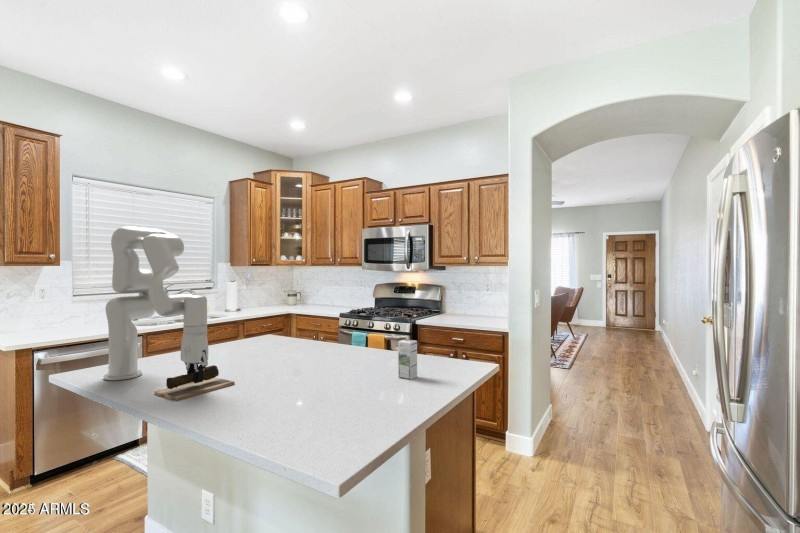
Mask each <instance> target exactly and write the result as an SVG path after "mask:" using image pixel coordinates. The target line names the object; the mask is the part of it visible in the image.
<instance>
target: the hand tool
mask: <svg viewBox="0 0 800 533" xmlns="http://www.w3.org/2000/svg"><path fill="white" fill-rule="evenodd" d="M219 375H220V373H219V369H218V366H217V365H210V366H208V365H207V366H205V368H204V371H203V380H210V379H212V378H214V377H216V378H217V377H218V376H219ZM191 382H194V373H190V374H187V373H186V374H181V375H177V376H174V377H166V384H165V385H166V387H167V388H168V389H173V388H174V387H176V388H177V387H178V386H181V385H184V384H187V383H191Z"/></svg>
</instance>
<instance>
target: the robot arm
mask: <svg viewBox="0 0 800 533" xmlns="http://www.w3.org/2000/svg"><path fill="white" fill-rule="evenodd" d="M110 243H111V244H110V245H111V251H112V256H113V261H112V278H111V284H112V289H113V291H114V292H115V293H117V294H138V295H129V296H127V295H126V296H118V297H114V298H111V299H109V300H108V301H107V302H106V304H105V309H104V310H105V316H106V320H107V325H108V326H107V327H108V366H107V369H108V373H106V374H104V375H103V379H104V380H105V381H122V380H129V379H134V378H137V377H139V376H142V374H143V371H142V370H140V369H138V363H139V362H138V360H139V359H138V351H139V350H138V348H139V347H138V334H139V333H138V329H137V326H136V325H135V324H134V322H133V321H134V320H142V319H148V318H151V317H153V315H154V314H155V312H156V313H157V314H158V315H159V316H161V317H173V316H183V328H182V329H183V331H182V332H183V334H182V338H181V345H180V361H181V362H184V364H185V370H186V371H187V372H186V374H190V373H194V383H199V382H203V371H204V368H205V367H208V365H209V362H208V360H209V342H208V341H209V340H208V298H207V297H206V295H203V294H202V295H197V294H196V295H194V294H192V293H177V294H167V293H166V289H165V288H164V281H165V280H166V279H169V278H171V277H173V276H174V275H176V274H177V273H178V272H179V270H180V267H179V265H178V263H177V260H176V257H179V256H181V255H182V254H183V253H184V251H185V244H184V241H183V240H182V239H181V238H180V237H179V236H178V235H176V234H173V233H170V232H168V231H165V230H162V229H159V228H150V227H148V228H147V227H141V226H140V227H139V226H121V227H119V228H116V230H115V231H114V232H113V233H112V236H111V241H110ZM135 249H136V250H137V249H138V250H143V251H144V254H145V256H146V258H147V261H148V263H149V265H150V268H151V269H143V268H142V269H140V257H139V255H138V254H137V252H136V251H135Z"/></svg>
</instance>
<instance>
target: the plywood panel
mask: <svg viewBox="0 0 800 533" xmlns="http://www.w3.org/2000/svg"><path fill="white" fill-rule="evenodd" d="M233 385H235V381H233V380H229V379H225V378H220V377H217V376H216V377H214V378H212V379H210V380H203V382H199V383H194V382H191V383H187V384H184V385H181V386H178V387H177V388H176V387H174V388H173V389H168V388H163V389H160V390H155V391H154V392H153V394H154V395H155V396H159V397H161V398H164V397H165V399H168V400H171V399H172V400H171V401H174V400H175V402H176V401H177V400H178V401H182V400H184V398H185V399H188V398H192V397H195V396H198V395H202V394H206V393H209V392H214V391H216V390H219V389H222V388H226V387H230V386H233Z"/></svg>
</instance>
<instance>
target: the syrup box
mask: <svg viewBox="0 0 800 533" xmlns="http://www.w3.org/2000/svg"><path fill="white" fill-rule="evenodd" d="M397 342H398V343H397V344H398V349H397V350H398V353H397V354H398V359H397V360H398V361H397V363H398V378H400V379H405V380H413V379H415V378H417V377H418V340H415V339H414V340H413V339H401V340H399V341H397Z"/></svg>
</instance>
